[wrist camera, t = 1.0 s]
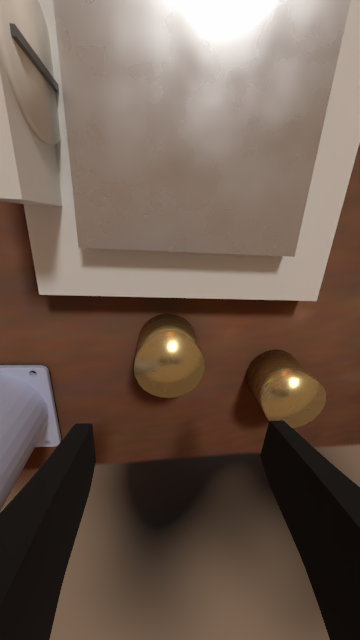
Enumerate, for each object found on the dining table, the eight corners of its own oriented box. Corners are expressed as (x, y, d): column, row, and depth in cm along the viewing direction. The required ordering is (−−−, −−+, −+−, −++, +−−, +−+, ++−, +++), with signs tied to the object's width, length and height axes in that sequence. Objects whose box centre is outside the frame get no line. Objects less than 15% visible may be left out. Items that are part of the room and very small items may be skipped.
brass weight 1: (139, 364, 19) (134, 398, 16) (138, 313, 18) (133, 337, 14) (193, 364, 20) (201, 397, 16) (197, 314, 18) (207, 337, 14)
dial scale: (51, 287, 16) (-4, 320, 11) (-29, -240, 9) (-333, -989, 3) (301, 293, 18) (365, 325, 13) (408, -142, 11) (677, -534, 5)
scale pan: (83, 246, 14) (78, 247, 13) (44, -171, 8) (30, -219, 8) (286, 254, 15) (294, 256, 14) (360, -107, 10) (381, -142, 9)
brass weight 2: (242, 393, 21) (260, 429, 18) (250, 349, 20) (271, 378, 16) (289, 392, 22) (317, 427, 18) (301, 349, 20) (333, 378, 16)
